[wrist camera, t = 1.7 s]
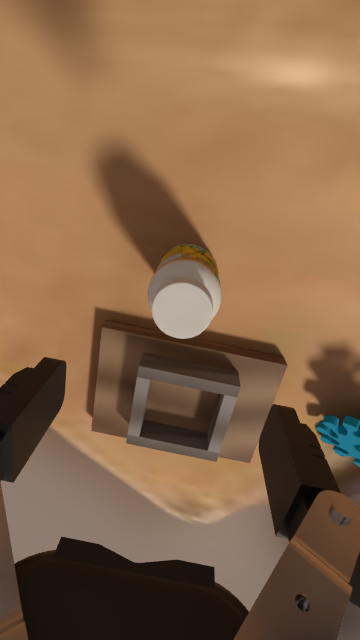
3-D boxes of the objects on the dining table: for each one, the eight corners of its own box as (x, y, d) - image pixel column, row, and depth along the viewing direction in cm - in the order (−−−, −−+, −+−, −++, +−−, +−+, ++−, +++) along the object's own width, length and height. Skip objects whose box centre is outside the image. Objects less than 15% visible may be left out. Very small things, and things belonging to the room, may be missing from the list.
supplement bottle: (148, 262, 30) (123, 297, 21) (198, 230, 28) (195, 253, 19) (179, 309, 31) (169, 360, 22) (229, 281, 30) (238, 324, 21)
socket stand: (106, 320, 32) (93, 339, 28) (283, 356, 32) (293, 380, 29) (95, 420, 37) (83, 447, 34) (248, 452, 38) (252, 482, 34)
